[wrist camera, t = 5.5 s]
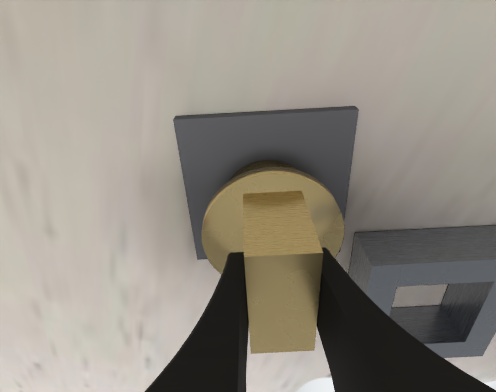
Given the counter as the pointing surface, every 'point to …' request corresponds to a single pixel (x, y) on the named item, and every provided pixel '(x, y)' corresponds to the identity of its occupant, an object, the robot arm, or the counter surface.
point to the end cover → (275, 248)
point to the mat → (263, 150)
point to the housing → (430, 273)
